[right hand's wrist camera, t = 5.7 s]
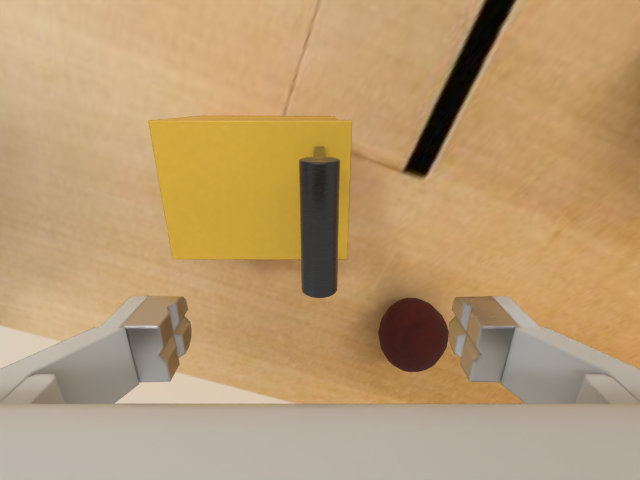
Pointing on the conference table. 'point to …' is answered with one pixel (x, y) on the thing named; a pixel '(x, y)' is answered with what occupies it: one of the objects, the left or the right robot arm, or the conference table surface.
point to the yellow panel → (258, 192)
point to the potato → (413, 335)
